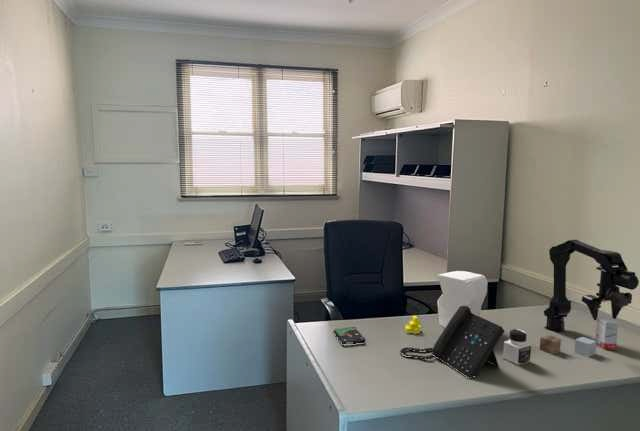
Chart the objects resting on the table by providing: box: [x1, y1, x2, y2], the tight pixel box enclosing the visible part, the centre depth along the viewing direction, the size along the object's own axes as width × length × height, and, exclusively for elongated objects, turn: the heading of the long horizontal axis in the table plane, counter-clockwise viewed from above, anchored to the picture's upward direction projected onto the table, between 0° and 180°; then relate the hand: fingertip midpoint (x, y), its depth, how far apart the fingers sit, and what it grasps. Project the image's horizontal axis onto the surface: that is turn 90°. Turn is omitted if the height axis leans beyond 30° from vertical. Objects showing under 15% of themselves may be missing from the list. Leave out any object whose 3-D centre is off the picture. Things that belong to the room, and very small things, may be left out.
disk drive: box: [333, 326, 366, 344], centre depth 191 cm, size 10×3×15 cm
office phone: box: [399, 306, 505, 379], centre depth 169 cm, size 29×28×20 cm
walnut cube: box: [539, 334, 562, 355], centre depth 179 cm, size 6×6×6 cm
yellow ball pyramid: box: [404, 315, 422, 333], centre depth 199 cm, size 6×8×8 cm
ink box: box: [594, 315, 619, 351], centre depth 184 cm, size 9×5×12 cm, turn 168°
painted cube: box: [574, 336, 597, 358], centre depth 177 cm, size 6×6×6 cm
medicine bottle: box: [502, 328, 532, 366], centre depth 170 cm, size 7×7×12 cm
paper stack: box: [435, 270, 489, 329], centre depth 204 cm, size 21×27×26 cm
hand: (604, 319), depth 178 cm, fingers open, 9 cm apart
